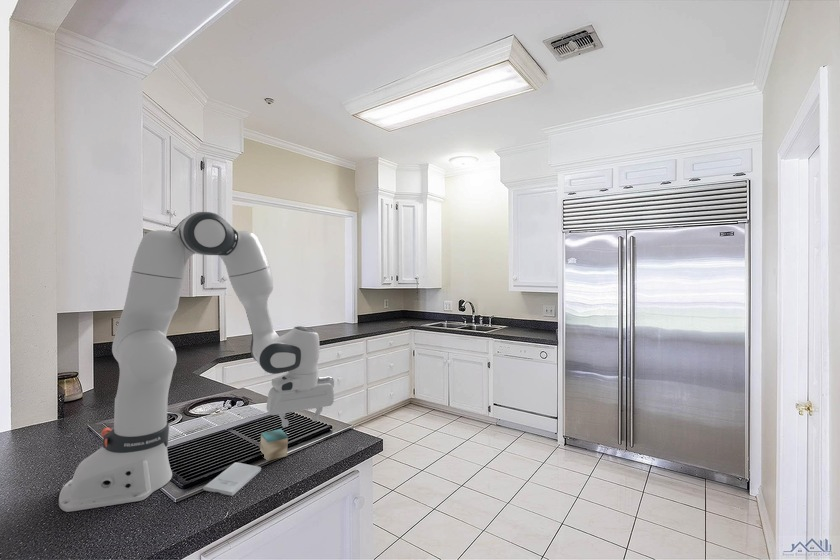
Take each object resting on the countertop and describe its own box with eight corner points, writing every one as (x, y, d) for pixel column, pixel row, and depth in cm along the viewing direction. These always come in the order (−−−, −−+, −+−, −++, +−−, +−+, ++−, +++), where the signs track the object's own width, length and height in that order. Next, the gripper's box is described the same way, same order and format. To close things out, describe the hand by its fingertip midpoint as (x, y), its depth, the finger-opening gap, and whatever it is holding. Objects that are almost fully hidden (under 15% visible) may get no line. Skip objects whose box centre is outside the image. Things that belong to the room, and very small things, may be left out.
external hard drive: (260, 472, 114) (232, 498, 102) (234, 467, 115) (203, 492, 103) (261, 466, 114) (232, 491, 102) (234, 461, 115) (203, 485, 103)
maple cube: (288, 436, 122) (286, 456, 123) (280, 428, 127) (279, 447, 127) (267, 441, 119) (266, 461, 119) (261, 433, 123) (260, 452, 124)
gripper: (330, 372, 135) (327, 413, 136) (266, 380, 123) (263, 425, 124) (338, 378, 130) (335, 421, 131) (272, 386, 118) (269, 433, 119)
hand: (300, 423), depth 127 cm, fingers open, 8 cm apart
